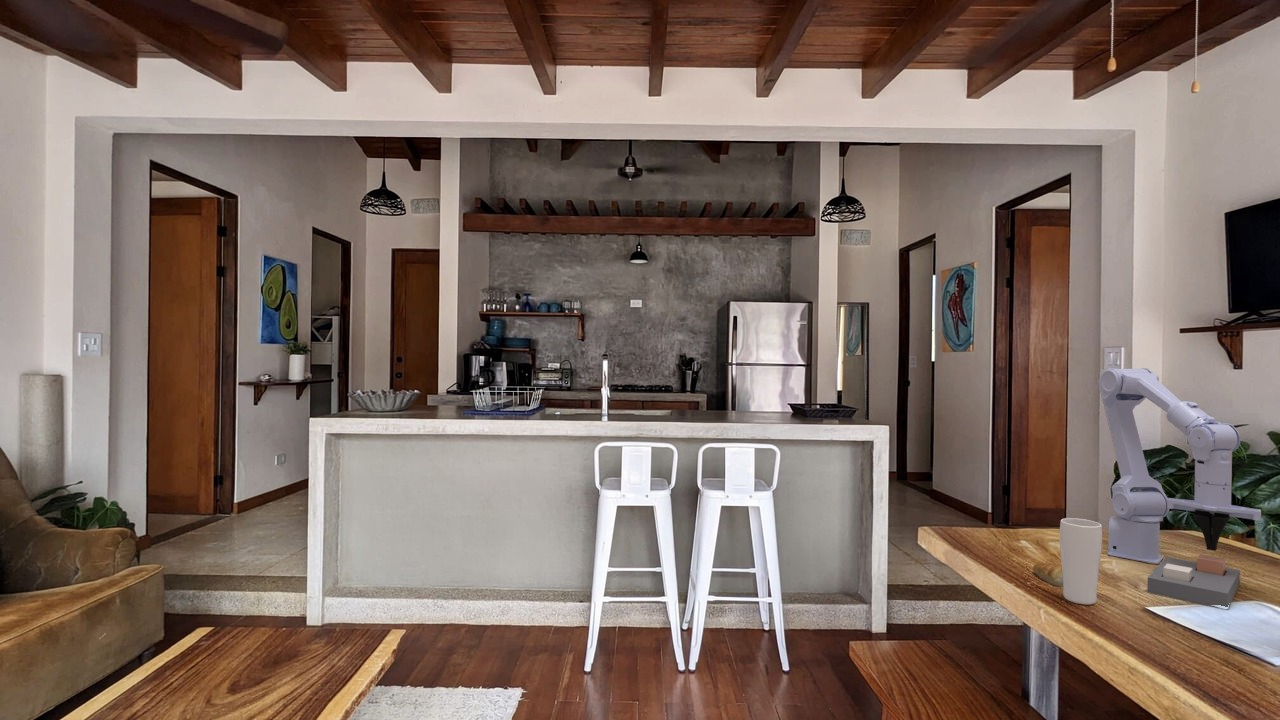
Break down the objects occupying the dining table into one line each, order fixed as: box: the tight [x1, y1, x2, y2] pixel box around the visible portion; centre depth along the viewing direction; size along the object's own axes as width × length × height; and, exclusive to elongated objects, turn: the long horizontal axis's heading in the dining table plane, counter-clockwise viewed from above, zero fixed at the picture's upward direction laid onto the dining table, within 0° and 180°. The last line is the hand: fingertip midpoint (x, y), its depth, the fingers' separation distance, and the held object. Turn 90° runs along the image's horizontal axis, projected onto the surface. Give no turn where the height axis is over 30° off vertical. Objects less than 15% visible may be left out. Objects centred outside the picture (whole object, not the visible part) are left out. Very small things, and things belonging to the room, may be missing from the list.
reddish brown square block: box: [1196, 553, 1226, 576], centre depth 138 cm, size 4×4×3 cm
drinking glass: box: [1059, 517, 1103, 605], centre depth 129 cm, size 7×7×15 cm
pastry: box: [1032, 562, 1063, 588], centre depth 141 cm, size 9×7×4 cm
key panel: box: [1146, 556, 1241, 607], centre depth 136 cm, size 12×20×3 cm, turn 134°
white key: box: [1163, 564, 1192, 582], centre depth 134 cm, size 4×4×3 cm
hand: (1211, 549), depth 138 cm, fingers closed
